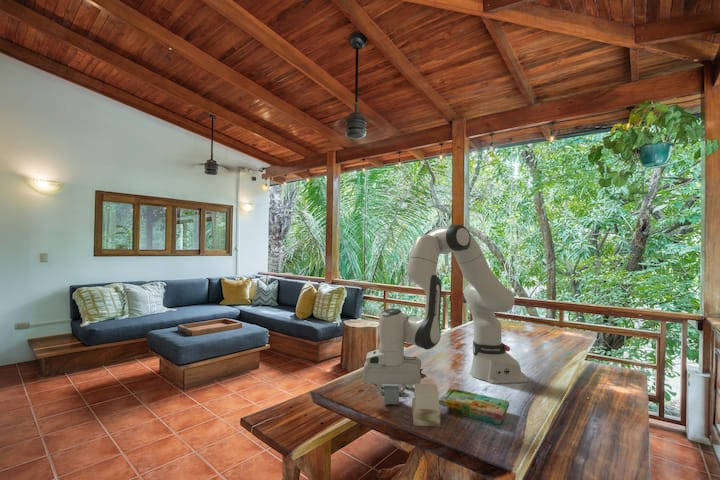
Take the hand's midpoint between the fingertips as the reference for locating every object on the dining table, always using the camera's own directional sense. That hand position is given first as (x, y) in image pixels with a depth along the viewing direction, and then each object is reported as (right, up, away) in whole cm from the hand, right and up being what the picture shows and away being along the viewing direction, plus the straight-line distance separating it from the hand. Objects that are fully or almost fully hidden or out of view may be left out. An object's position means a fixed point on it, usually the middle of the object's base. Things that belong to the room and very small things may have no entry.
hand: (391, 395), depth 121 cm
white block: (+10, +2, -11) cm, 15 cm away
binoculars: (+1, -3, +16) cm, 17 cm away
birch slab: (+10, -3, -11) cm, 15 cm away
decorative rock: (+8, -4, +29) cm, 31 cm away
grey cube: (0, -2, 0) cm, 2 cm away
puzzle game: (+27, -3, -5) cm, 28 cm away
